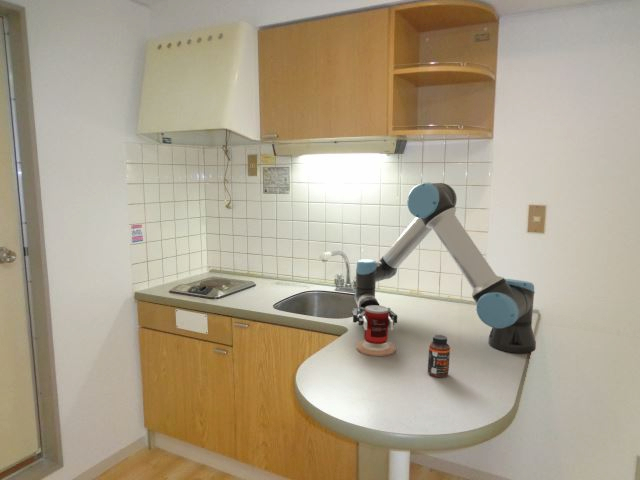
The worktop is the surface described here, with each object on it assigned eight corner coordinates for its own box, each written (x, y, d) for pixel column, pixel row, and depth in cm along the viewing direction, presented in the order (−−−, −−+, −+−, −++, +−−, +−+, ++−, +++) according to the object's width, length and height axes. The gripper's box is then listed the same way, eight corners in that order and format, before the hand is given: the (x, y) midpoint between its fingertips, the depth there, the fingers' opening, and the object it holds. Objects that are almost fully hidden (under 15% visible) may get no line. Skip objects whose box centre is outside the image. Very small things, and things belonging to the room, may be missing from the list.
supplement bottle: (436, 379, 132) (438, 341, 131) (423, 371, 138) (425, 334, 136) (452, 376, 135) (454, 338, 134) (439, 368, 140) (441, 332, 139)
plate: (403, 351, 154) (403, 347, 154) (372, 359, 147) (373, 355, 147) (378, 340, 165) (378, 336, 164) (348, 346, 158) (348, 342, 158)
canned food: (373, 334, 161) (374, 303, 160) (392, 340, 155) (393, 308, 154) (359, 339, 156) (360, 307, 154) (378, 346, 150) (379, 313, 149)
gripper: (395, 316, 173) (410, 337, 151) (340, 316, 172) (346, 337, 150) (396, 296, 172) (411, 314, 150) (341, 296, 171) (347, 314, 149)
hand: (379, 325), depth 150 cm, fingers closed on canned food, 8 cm apart
